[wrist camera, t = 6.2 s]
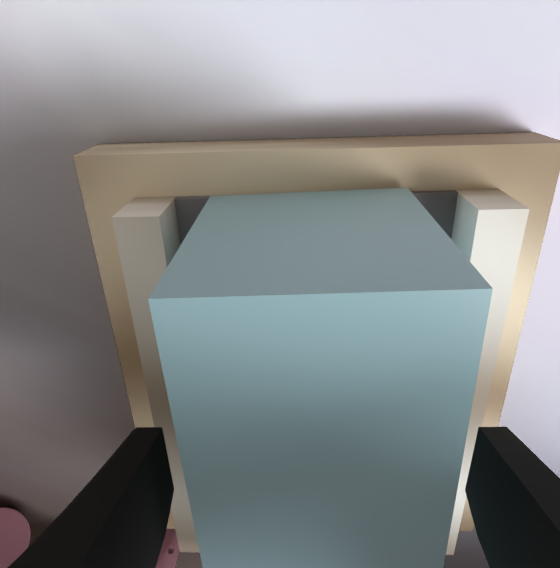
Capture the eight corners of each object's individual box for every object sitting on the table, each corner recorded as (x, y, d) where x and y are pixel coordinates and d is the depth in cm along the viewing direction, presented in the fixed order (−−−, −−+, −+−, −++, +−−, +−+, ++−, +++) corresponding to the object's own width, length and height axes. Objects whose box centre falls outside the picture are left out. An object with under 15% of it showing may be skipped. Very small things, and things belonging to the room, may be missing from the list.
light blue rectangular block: (383, 513, 15) (419, 703, 11) (248, 514, 15) (229, 701, 11) (407, 187, 10) (492, 288, 6) (210, 195, 11) (147, 299, 6)
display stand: (459, 493, 17) (489, 575, 14) (168, 492, 18) (145, 571, 15) (534, 132, 11) (608, 156, 9) (98, 144, 12) (39, 170, 9)
